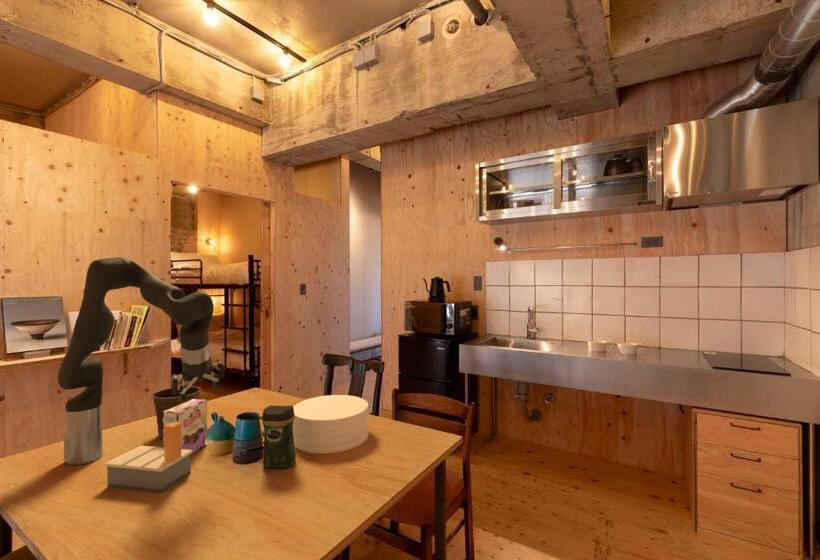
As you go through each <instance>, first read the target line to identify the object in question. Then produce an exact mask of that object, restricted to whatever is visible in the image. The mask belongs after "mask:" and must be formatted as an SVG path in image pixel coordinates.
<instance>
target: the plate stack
mask: <svg viewBox="0 0 820 560" xmlns="http://www.w3.org/2000/svg"><path fill="white" fill-rule="evenodd" d="M293 408H294V414H295V418H294V421H293V438H294V446H295V449H297V448H298V450H299V449H300V451H302V452H306V453H310V454H311V453H312V454H332V453H333V454H334V453H340V452H345V451H349V450H352V449H354V448H357V447H358V446H360V445H362V444H364V442H366V441H367V439H368V437H369V433H370V432H369V428H370V427H369V402H368V401H367V400H366V399H364V398H361V397H359V396H355V395H347V394H331V395H321V396H314V397H310V398H308V399H305V400H302V401H300V402H298V403H296V404H295V405H294V406H293Z"/></svg>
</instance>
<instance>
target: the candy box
mask: <svg viewBox="0 0 820 560" xmlns="http://www.w3.org/2000/svg"><path fill="white" fill-rule="evenodd" d="M207 406H208V405H207V399H200V398H199V399H192V400H190V401H188V402H185V403H183V404H181V405H178V406H176V407H173V408H171V409H168V410H166V411H163V439H162V447H163V448H164V426H166V425H168V424H170V423H172V422H174V423H181V449H186V450H192V451H193V453H191V454H190V455H192V454H194V453H196V452H197V451H200V449H202V448H203V447H205V446H206V445H205V434H206V432H207V433H208V414H207V413H208V412H207V409H208V408H207ZM204 445H205V446H204Z"/></svg>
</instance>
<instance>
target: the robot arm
mask: <svg viewBox="0 0 820 560" xmlns="http://www.w3.org/2000/svg"><path fill="white" fill-rule="evenodd" d="M85 276H86V277H85V284H84V290H83V297H82V301H81V305H80V309H79V312H78V314H77V317H76V320H75V323H74V326H73V330H72V334H71V338H70V341H69V342H70V343H69V345H68V348H67V350H66V352H65V355H64V357H63V359H62V362H61V364H60V366H59V369H58V374H57V382H58V385H59V387H60V388H61V389H63V390H76V389H81V388H85V389H84V390H83V391H82V392H80V393H79V394H77V395H76V396H73V397H72V398H70V399H68V400H67V401H65V405H64V406H65V409H64V410H65V432H64V433H63V458H64V459H63V460H64V462H65V463H66V465H69V466H78V465H84V464H85V465H86V464H88V463H90V462H91V463H92V462H94V461H96V460H98V459H101V458H102V456H103V455H104V454H103V453H104V451H103V407H102V406H103V405H102V404H103V403H102V399H103V382H104V365H103V363H102V361H101V359H100V358H99V357H89V356H90V355H92V354H93V353H94V352H96V350H98V349H100V348H101V346H103V345H104V344H105V343H106V342H107V341H108V339H110V336H111V334H112V331H113V328H114V324H115V316H114V314H113V312H112V311H111V310H110V308H109V307H108V305H107V304H106V302H105V299H106V295H107V293H108V292H110V291H113V290H119V289H125V288H129V287H133V288H137V289H139V292H140V296H141V297H142V298H143V300H144V301H146V302H147V303H148V304H150V305H152V306H154V307H155V308H159V309H160V310H162V311H163V312H164V313H165V314H166V315H167V316H168V317H169V318H170V319H171V321H172V322H173V323H174V324H176V325H178V326H181V327H180V329H179V341H180V358H181V364H182V365H181V367H182V372H181V374H177V375H176V373H175V374H174V373H173V374H172V373H171V375H170V388H171V390H172V391H173V394H174V395H177V394H178V393H180V398H181V400H182V401H183V400H184V402H185V401H187V395H186V391H187V389H188V388H190V387H191V386H193V385H194V384H197V383H199V382H203V381H206V379H208V380H210V381H211V386H212V388H213V391H216V390H218V388H219V387H220V385H219V384H220V383H219V381H220V379H224V378H225V377H226V375H225V367H224V364H223V362H222V360H221V359H220V358H219V359H217V360H216V361H215V362H214V363H212V362H213V361H212V349H211V343H210V336H209V335H210V334H209V329H210V325H211V322H212V318H213V314H214V307H215V306H214V303H213V299H212V298H211V296H210V295H209V294H208V293H206V292H205V291H194V292H193V293H190V294H188V295H187V296H186V294H185V292H184V291H183V290H182V289H181V288H179V287H177V286H175V285H173V284H171V283H169V282H166V281H164V280H162V279H160V278H159V277H157V276H155V275H154V274H152V273H151V272H150V271H148V269H146V268H144V267H143V266H141V265H140V264H139V263H137V262H136V261H134V260H133V259H131V258H128V257H126V256H125V257H124V256H123V257H121V256H119V257H118V256H117V257H110V258H109V257H108V258H107V257H105V258H99V259H96V260H92V262H91V263H90V264H89V266H88V268H87V272H86V275H85ZM87 357H88V358H87ZM214 369H215V370H217V373H215V372H213V370H214Z"/></svg>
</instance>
